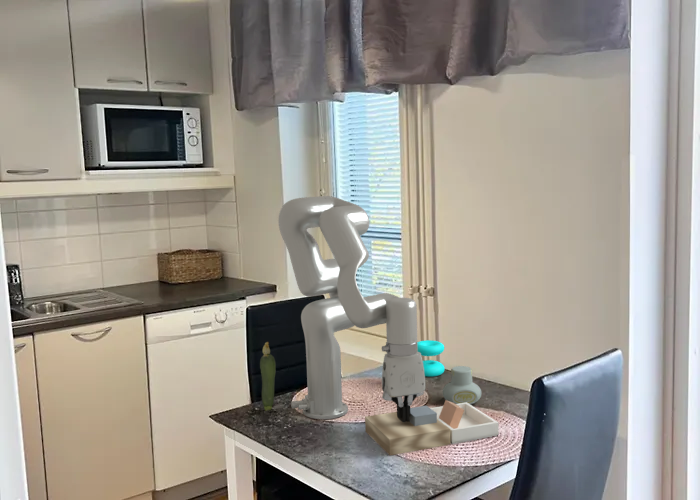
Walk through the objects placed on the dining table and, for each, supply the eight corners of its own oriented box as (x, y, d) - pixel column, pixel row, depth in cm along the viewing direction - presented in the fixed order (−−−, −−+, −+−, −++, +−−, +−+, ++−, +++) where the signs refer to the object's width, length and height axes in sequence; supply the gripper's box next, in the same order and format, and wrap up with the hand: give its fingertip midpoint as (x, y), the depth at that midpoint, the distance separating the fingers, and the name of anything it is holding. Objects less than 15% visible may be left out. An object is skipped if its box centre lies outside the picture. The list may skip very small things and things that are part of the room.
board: (389, 455, 164) (389, 439, 163) (365, 431, 179) (365, 416, 178) (450, 444, 169) (450, 428, 169) (421, 422, 184) (421, 407, 184)
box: (452, 444, 169) (452, 430, 169) (423, 422, 184) (423, 409, 184) (498, 435, 174) (498, 422, 173) (466, 414, 189) (466, 402, 188)
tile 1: (414, 426, 171) (414, 416, 171) (405, 417, 177) (404, 408, 176) (436, 422, 173) (436, 413, 173) (426, 414, 179) (426, 405, 178)
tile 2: (456, 407, 174) (464, 409, 175) (445, 400, 180) (453, 402, 181) (448, 429, 174) (455, 432, 175) (437, 421, 180) (444, 424, 181)
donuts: (450, 344, 223) (422, 348, 219) (450, 374, 224) (423, 379, 220) (434, 337, 232) (407, 341, 228) (434, 367, 233) (408, 371, 229)
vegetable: (262, 407, 199) (259, 339, 196) (277, 406, 199) (274, 338, 197) (261, 412, 194) (258, 343, 192) (277, 412, 195) (274, 342, 192)
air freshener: (477, 397, 202) (477, 363, 201) (484, 407, 194) (484, 372, 193) (440, 398, 202) (440, 365, 201) (445, 408, 194) (444, 373, 193)
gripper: (379, 355, 165) (381, 430, 167) (436, 348, 170) (437, 420, 172) (368, 348, 172) (370, 419, 174) (423, 341, 177) (424, 411, 179)
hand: (403, 420), depth 173 cm, fingers closed
